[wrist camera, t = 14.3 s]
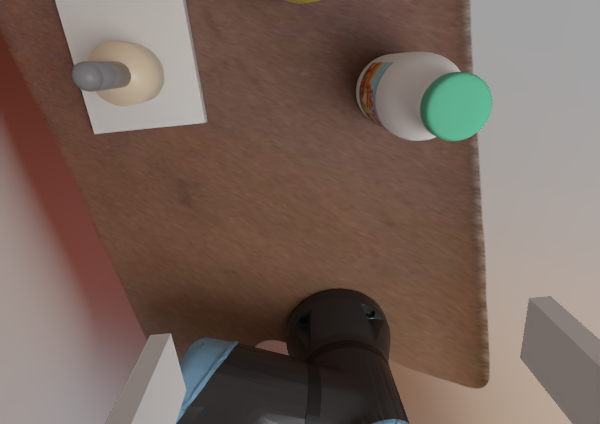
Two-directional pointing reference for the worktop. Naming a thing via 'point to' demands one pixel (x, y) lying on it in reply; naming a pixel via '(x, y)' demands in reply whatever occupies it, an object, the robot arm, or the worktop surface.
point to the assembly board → (150, 33)
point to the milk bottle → (423, 97)
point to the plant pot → (302, 1)
